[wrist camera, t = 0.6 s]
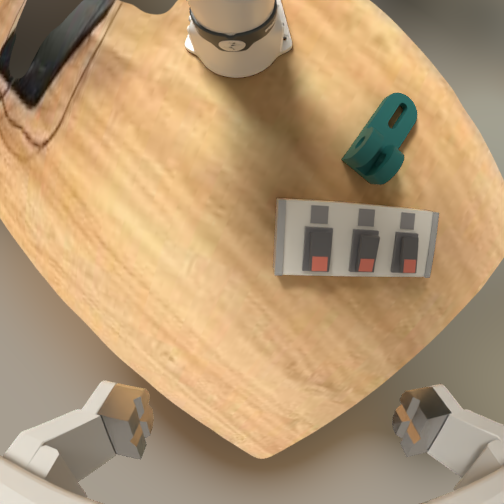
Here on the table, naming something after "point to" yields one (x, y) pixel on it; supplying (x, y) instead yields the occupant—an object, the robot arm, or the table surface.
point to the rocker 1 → (319, 251)
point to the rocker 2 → (367, 253)
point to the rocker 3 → (408, 255)
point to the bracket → (382, 141)
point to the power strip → (350, 236)
